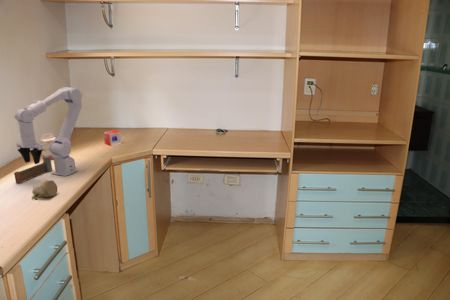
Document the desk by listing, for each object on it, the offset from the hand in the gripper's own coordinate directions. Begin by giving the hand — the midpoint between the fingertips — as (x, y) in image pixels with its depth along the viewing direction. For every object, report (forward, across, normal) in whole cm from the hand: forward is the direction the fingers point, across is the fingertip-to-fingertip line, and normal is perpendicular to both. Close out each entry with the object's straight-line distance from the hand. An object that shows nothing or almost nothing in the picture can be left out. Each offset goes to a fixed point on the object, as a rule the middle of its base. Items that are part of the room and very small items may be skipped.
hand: (32, 162), depth 172 cm
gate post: (+9, -5, +13) cm, 17 cm away
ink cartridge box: (+10, -20, +30) cm, 38 cm away
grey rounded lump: (+10, +18, -12) cm, 24 cm away
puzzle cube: (+10, -8, +68) cm, 69 cm away
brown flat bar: (+9, -5, +3) cm, 11 cm away
